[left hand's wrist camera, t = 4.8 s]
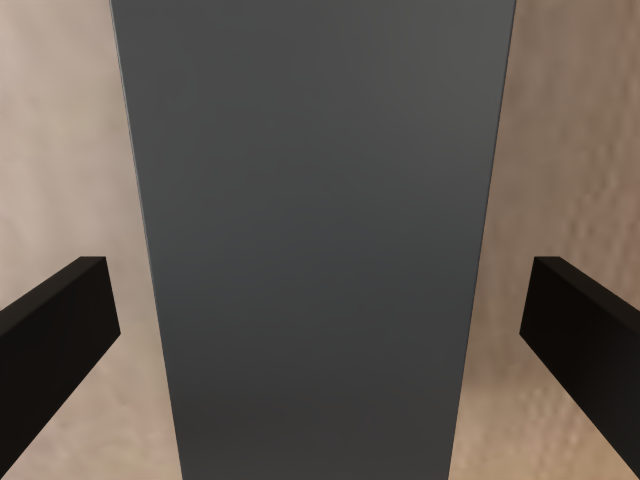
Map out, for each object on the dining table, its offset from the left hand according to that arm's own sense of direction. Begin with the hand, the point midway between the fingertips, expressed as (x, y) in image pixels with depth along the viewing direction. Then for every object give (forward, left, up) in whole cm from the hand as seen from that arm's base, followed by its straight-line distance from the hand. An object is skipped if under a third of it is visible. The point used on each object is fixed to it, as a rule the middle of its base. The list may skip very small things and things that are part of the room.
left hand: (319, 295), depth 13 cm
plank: (+18, +4, -3) cm, 19 cm away
